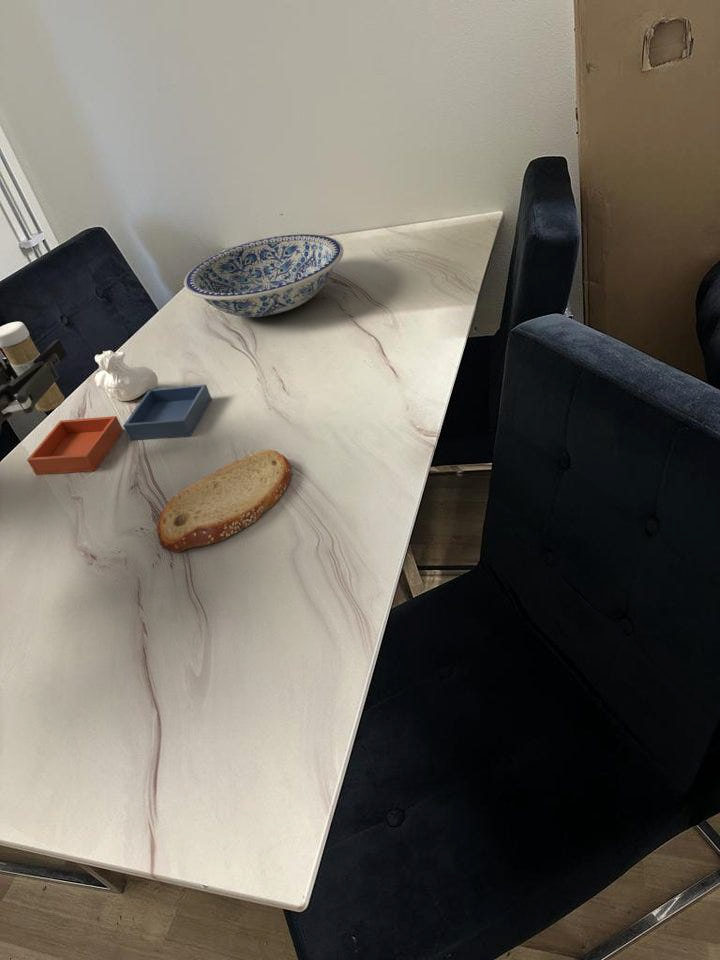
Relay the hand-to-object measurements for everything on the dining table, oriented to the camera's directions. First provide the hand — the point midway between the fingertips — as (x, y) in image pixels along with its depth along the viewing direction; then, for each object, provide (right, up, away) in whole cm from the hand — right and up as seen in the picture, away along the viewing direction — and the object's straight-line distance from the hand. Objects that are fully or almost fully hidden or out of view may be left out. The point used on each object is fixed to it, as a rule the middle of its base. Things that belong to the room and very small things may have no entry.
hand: (47, 348), depth 105 cm
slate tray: (+16, -10, +11) cm, 22 cm away
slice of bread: (+31, -24, -10) cm, 40 cm away
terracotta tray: (+2, -16, +8) cm, 18 cm away
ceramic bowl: (+31, +18, +42) cm, 55 cm away
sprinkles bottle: (0, -9, 0) cm, 9 cm away
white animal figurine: (+6, -5, +21) cm, 22 cm away
